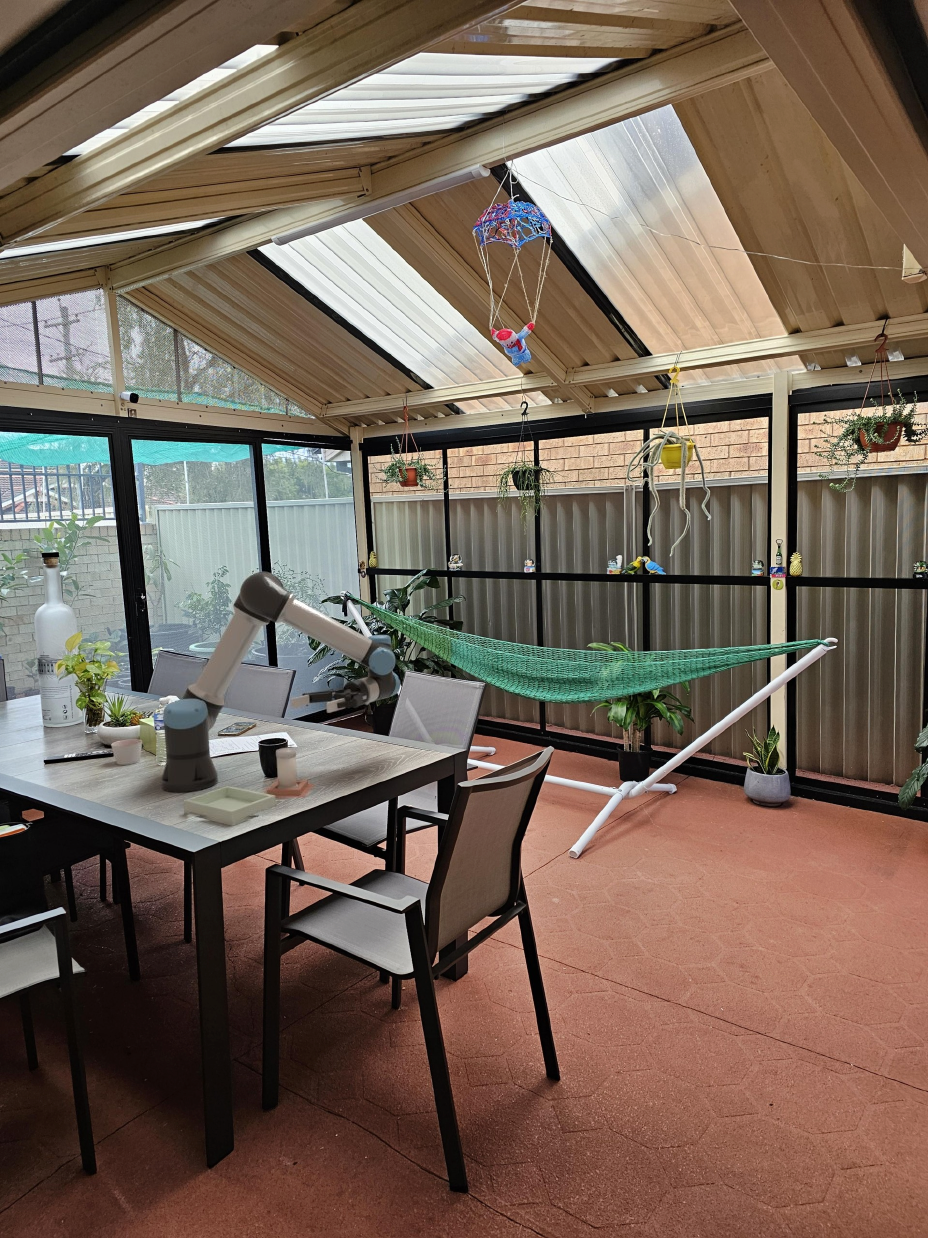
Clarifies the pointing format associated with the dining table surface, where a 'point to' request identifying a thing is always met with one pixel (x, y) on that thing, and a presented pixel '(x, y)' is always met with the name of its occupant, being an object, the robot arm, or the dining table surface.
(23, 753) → the dining table surface
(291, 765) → the cylinder
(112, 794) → the dining table surface
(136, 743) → the pink cup
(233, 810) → the tray
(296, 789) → the orange square coaster
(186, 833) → the dining table surface
